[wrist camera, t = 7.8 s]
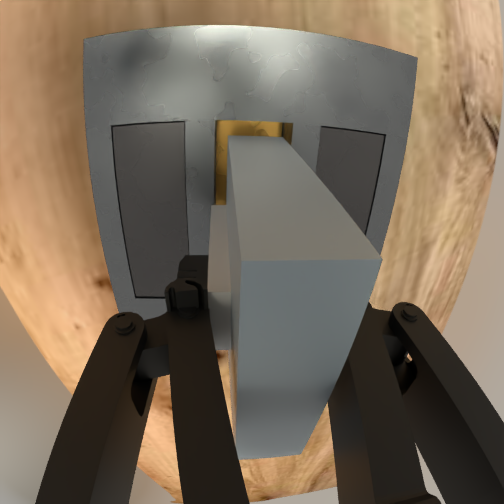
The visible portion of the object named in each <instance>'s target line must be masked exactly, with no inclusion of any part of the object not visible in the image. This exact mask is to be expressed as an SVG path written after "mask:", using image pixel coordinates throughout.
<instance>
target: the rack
mask: <svg viewBox="0 0 504 504" xmlns="http://www.w3.org/2000/svg"><path fill="white" fill-rule="evenodd" d="M417 60H418V58H417V57H414V56H411V55H408V54H404V53H401V52H398V51H394V50H391V49H387V48H384V47H380V46H376V45H372V44H368V43H364V42H360V41H355V40H351V39H346V38H341V37H336V36H331V35H325V34H319V33H313V32H306V31H298V30H290V29H281V28H271V27H257V26H237V25H193V26H173V27H160V28H150V29H141V30H133V31H125V32H119V33H113V34H107V35H101V36H96V37H91V38H86V39H84V51H83V84H84V110H85V126H86V138H87V149H88V159H89V167H90V175H91V182H92V189H93V196H94V202H95V209H96V214H97V220H98V225H99V231H100V236H101V241H102V246H103V250H104V255H105V259H106V264H107V268H108V272H109V276H110V281H111V284H112V288H113V292H114V296H115V300H116V303H117V307H118V311H119V313H121V312H133V313H137V314H139V315H140V316H141V317H142V318H143V320H147V319H151V318H155V317H158V316H161V315H162V314H164V313H166V312H167V307H166V301H165V294H164V292H165V288H166V287H167V286H168V285H169V284H170V283H171V282H173V281H175V280H176V279H177V273H178V267H179V262H180V261H181V260H182V259H183V258H184V256H185V255H209V239H210V219H211V205H226V191H227V149H228V135H233V136H267V137H283V138H284V139H285V140H286V141H287V142H288V143H289V145H290V146H291V147H292V148H293V149H294V150H295V151H296V152H297V153H298V155H299V156H300V157H301V158H302V159H303V160H304V161H305V162H306V164H307V165H308V166H309V167H310V168H311V169H312V171H313V172H314V173H315V174H316V175H317V176H318V178H319V179H320V180H321V181H322V182H323V183H324V185H325V186H326V187H327V188H328V189H329V191H330V192H331V193H332V194H333V196H334V197H335V198H336V199H337V200H338V202H339V203H340V204H341V205H342V207H343V208H344V209H345V210H346V212H347V213H348V214H349V215H350V217H351V218H352V219H353V221H354V222H355V223H356V224H357V226H358V227H359V228H360V230H361V231H362V232H363V233H364V235H365V236H366V237H367V239H368V240H369V241H370V243H371V244H372V245H373V247H374V248H375V249H376V251H377V252H378V254H379V255H380V254H381V251H382V247H383V244H384V240H385V236H386V233H387V229H388V225H389V221H390V217H391V213H392V209H393V205H394V201H395V197H396V193H397V188H398V184H399V179H400V174H401V169H402V165H403V159H404V154H405V149H406V143H407V138H408V132H409V125H410V119H411V112H412V105H413V98H414V89H415V81H416V71H417Z"/></svg>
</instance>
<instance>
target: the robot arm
mask: <svg viewBox="0 0 504 504" xmlns="http://www.w3.org/2000/svg"><path fill="white" fill-rule="evenodd" d="M164 294H165V301H166V307H167V312H166V313H164V314H162V315H161V316H158V317H155V318H151V319H147V320H143V318H142V317H141V316H140V315H139V314H137V313H133V312H121V313H118V314H115V315H114V316H112V317H111V318H110V319H109V320H108V321H107V322H106V324H105V326H104V328H103V330H102V332H101V334H100V336H99V338H98V340H97V343H96V345H95V347H94V349H93V351H92V353H91V355H90V358H89V360H88V362H87V364H86V366H85V369H84V371H83V373H82V375H81V378H80V380H79V382H78V385H77V387H76V389H75V392H74V394H73V397H72V399H71V402H70V404H69V406H68V409H67V411H66V414H65V417H64V419H63V422H62V424H61V427H60V430H59V432H58V435H57V438H56V441H55V443H54V446H53V449H52V452H51V455H50V458H49V461H48V464H47V467H46V470H45V473H44V476H43V479H42V482H41V486H40V489H39V492H38V496H37V499H36V503H35V504H129V499H130V493H131V489H132V484H133V479H134V474H135V470H136V465H137V461H138V456H139V452H140V447H141V443H142V439H143V435H144V430H145V426H146V422H147V418H148V414H149V410H150V406H151V402H152V398H153V394H154V391H155V387H156V383H157V379H158V377H161V376H165V375H169V374H170V386H171V400H172V413H173V424H174V434H175V443H176V452H177V461H178V469H179V476H180V483H181V490H182V497H183V503H184V504H249V500H248V496H247V492H246V488H245V484H244V480H243V476H242V472H241V467H240V463H239V459H238V455H237V451H236V446H235V442H234V437H233V433H232V428H231V424H230V419H229V415H228V410H227V405H226V400H225V395H224V390H223V385H222V380H221V375H220V370H219V365H218V360H217V354H216V350H231V281H230V264H229V247H228V228H227V207H226V205H211V219H210V239H209V255H185V256H184V258H183V259H182V260H181V261H180V262H179V267H178V273H177V279H176V280H175V281H173V282H171V283H170V284H169V285H168V286H167V287H166V288H165V292H164ZM408 353H409V355H410V356H411V358H412V361H410V360H409V359H408V358H407V355H408ZM328 408H329V416H330V424H331V432H332V440H333V449H334V458H335V468H336V478H337V489H338V500H339V504H441V502H440V501H439V499H438V498H437V497H436V496H433V495H431V494H429V493H428V492H427V491H426V488H425V485H424V480H423V475H422V470H421V466H420V462H419V457H418V454H417V450H416V445H417V447H418V449H419V451H420V453H421V455H422V457H423V459H424V461H425V462H426V465H427V467H428V468H429V471H430V473H431V474H432V476H433V479H434V480H435V482H436V485H437V487H438V489H439V491H440V493H441V495H442V497H443V499H444V501H445V503H446V504H504V423H503V421H502V420H501V418H500V416H499V415H498V413H497V412H496V410H495V409H494V407H493V405H492V404H491V402H490V401H489V399H488V398H487V397H486V395H485V394H484V392H483V391H482V389H481V388H480V386H479V385H478V383H477V382H476V381H475V379H474V378H473V376H472V375H471V373H470V372H469V371H468V369H467V368H466V367H465V366H464V364H463V362H462V361H461V360H460V358H459V357H458V356H457V354H456V353H455V352H454V351H453V349H452V348H451V346H450V345H449V344H448V342H447V341H446V340H445V339H444V337H443V336H442V335H441V333H440V332H439V331H438V330H437V328H436V327H435V326H434V325H433V323H432V322H431V321H430V320H429V318H428V317H427V316H426V315H425V313H424V312H423V311H422V310H421V309H420V308H419V307H417V306H416V305H414V304H411V303H407V302H400V303H398V304H396V305H395V306H394V307H393V309H392V312H390V311H384V310H378V309H374V308H372V306H371V304H370V303H369V302H368V304H367V307H366V310H365V313H364V316H363V318H362V321H361V324H360V326H359V329H358V331H357V334H356V337H355V339H354V342H353V344H352V347H351V349H350V352H349V354H348V356H347V359H346V361H345V364H344V366H343V368H342V371H341V373H340V375H339V377H338V380H337V382H336V384H335V386H334V389H333V391H332V393H331V395H330V397H329V399H328ZM415 443H416V445H415Z"/></svg>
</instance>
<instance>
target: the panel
mask: <svg viewBox="0 0 504 504" xmlns="http://www.w3.org/2000/svg"><path fill="white" fill-rule="evenodd" d="M226 207H227V228H228V247H229V264H230V281H231V350H228V358H229V376H230V393H231V408H232V423H233V437H234V442H235V446H236V451H237V455H238V459H239V460H242V459H259V458H271V457H281V456H290V455H299V454H301V453H302V451H303V449H304V447H305V445H306V443H307V442H308V440H309V438H310V436H311V434H312V432H313V430H314V428H315V426H316V424H317V422H318V420H319V418H320V416H321V414H322V412H323V410H324V408H325V406H326V404H327V402H328V399H329V397H330V395H331V393H332V391H333V389H334V386H335V384H336V382H337V380H338V377H339V375H340V373H341V371H342V368H343V366H344V364H345V361H346V359H347V356H348V354H349V352H350V349H351V347H352V344H353V342H354V339H355V337H356V334H357V331H358V329H359V326H360V324H361V321H362V318H363V316H364V313H365V310H366V307H367V304H368V302H369V299H370V296H371V293H372V290H373V287H374V284H375V281H376V278H377V275H378V272H379V269H380V266H381V262H382V258H381V256H380V255H379V254H378V252H377V251H376V249H375V248H374V247H373V245H372V244H371V243H370V241H369V240H368V239H367V237H366V236H365V235H364V233H363V232H362V231H361V230H360V228H359V227H358V226H357V224H356V223H355V222H354V221H353V219H352V218H351V217H350V215H349V214H348V213H347V212H346V210H345V209H344V208H343V207H342V205H341V204H340V203H339V202H338V200H337V199H336V198H335V197H334V196H333V194H332V193H331V192H330V191H329V189H328V188H327V187H326V186H325V185H324V183H323V182H322V181H321V180H320V179H319V178H318V176H317V175H316V174H315V173H314V172H313V171H312V169H311V168H310V167H309V166H308V165H307V164H306V162H305V161H304V160H303V159H302V158H301V157H300V156H299V155H298V153H297V152H296V151H295V150H294V149H293V148H292V147H291V146H290V145H289V143H288V142H287V141H286V140H285V139H284V138H283V137H267V136H233V135H228V149H227V191H226Z"/></svg>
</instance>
